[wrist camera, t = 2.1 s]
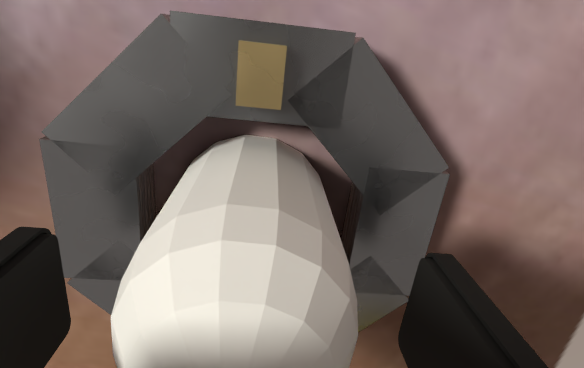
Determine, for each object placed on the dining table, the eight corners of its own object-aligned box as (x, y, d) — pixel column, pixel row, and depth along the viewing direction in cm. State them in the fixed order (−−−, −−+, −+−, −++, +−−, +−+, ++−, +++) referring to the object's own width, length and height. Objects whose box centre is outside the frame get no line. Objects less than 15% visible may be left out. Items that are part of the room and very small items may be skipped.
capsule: (324, 129, 12) (406, 280, 5) (325, 260, 14) (385, 507, 7) (166, 139, 12) (-11, 311, 4) (191, 270, 14) (100, 534, 7)
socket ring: (51, -2, 10) (-4, -12, 8) (459, 46, 11) (500, 49, 9) (96, 325, 15) (68, 372, 13) (380, 337, 16) (396, 381, 14)
